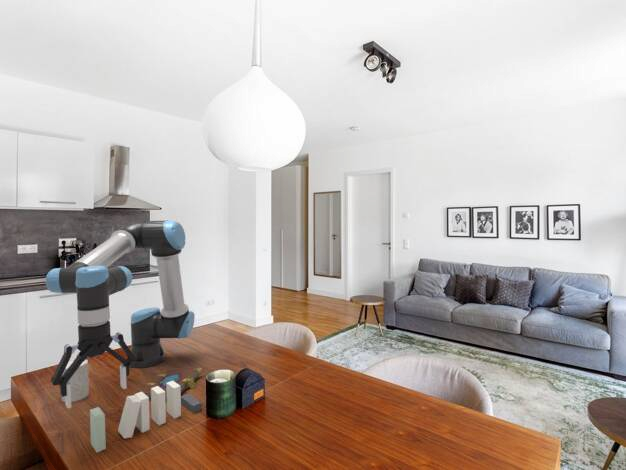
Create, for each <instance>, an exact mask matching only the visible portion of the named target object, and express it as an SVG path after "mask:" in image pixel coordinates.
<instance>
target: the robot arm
mask: <svg viewBox="0 0 626 470" xmlns="http://www.w3.org/2000/svg"><path fill="white" fill-rule="evenodd" d="M185 245H186V233H185V230H184V227H183V226H182V224H181V223H180V222H179V221H175V220H138V221H133V222H132V223H129V224H127V225H126V224H125V225H124V226H122V227H120V228H118V229H117V230H115V231H114V232H112V233H111V235H110V237H109V238H108V239H107V240H105V241H104V242H102V243H101V244H100V245H98V246H97V247H95V248H94V249H92V250H90V251H89V252H88V253H87V254H85V255H83V256H82V257H81V258H79V259H78V260H76V261H74V262H73V263H71V264H70V265H68V266H67V267H58V268H57V267H56V268H53V269H51V270H50V271H48V273H47V274H46V277H45V285H46V288H47V290H48V291H50V292H51V293H55V294H65V295H66V294H76V301H77V305H76V307H77V308H76V309H77V324H78V326H77V333H78V341H77V343H76V344H72V345H70V344H65V345H64V350H63V355H62V356H61V359H60V361H59V363H58V365H57V367H56V368H55V371H54V373H53V375H52V376H51V378H50V383H51V384H52V385H53V386H59V394H60V396H62V397H64V396H65V402H64V403H65V406H66V408H67V409H71V408H72V402H71V388H70V383H69V380H70V378H71V377H72V376H73V374H74V373H75V372H76V370H77V369H78V368H79V366H80V365H81V364H82V362H83V361H85V360H87V359H88V358H94V357H96V356H101V355H104V354H105V353H108V354H109V355H111V356H113V358H115V359H116V360H118V361H119V362H121V363H122V364H119V379H120V380H119V381H120V383H119V384H120V387H121V389H123V390H126V389H127V377H128V376H130V368H135V369H137V368H139V369H140V368H148V367H152V366H155V365H158V364H160V363H162V362H163V361H164V360H165V358H166V356H165V351H164V348H163V345H162V343H161V339H178V340H180V339H186V338H189V336H190V335H191V334H192V331H193V329H194V325H195V312H194V311H191V310H190V308H189V305H188V304H186V303H185V298H184V291H183V290H184V289H183V283H182V275H181V268H180V267H181V266H180V258H179V255H180V254H181V253H182V249H184V248H185ZM135 250H150V251H151V256H152V257H153V258H155V259H156V266H157V272H158V279H159V284H160V286H159V287H160V291H161V299H162V300H161V301H162V306H163V307H162V309H160V307H157V306H156V307H147V308H143V309H140V310H137V311H135V312H133V313H132V314H131V316H130V332H131V333H130V337H131V338H130V339H131V347H130V348H129V346H128V345H127V344H126V342H125V340H124V335H123V333H120V332H116V333H115V334H114V335H111V321H110V319H111V315H110V311H111V309H110V296H111V295H114V294H116V293H118V292H119V293H120V292H122V291H124V290H125V289H127V288H128V287H130V286H131V284H132V282H133V273H132V271H131V270H130V269H129V268H127V267H126V266H124V265H121V266H120V265H118V266H113V267H110V266H111V265H112V264H113V263H114V262H116V261H117V260H119V259H120V258H121V257H122V256H124V255H125V254H129V253H131V252H132V251H135ZM113 341H114V342H115V343H117V344H118V345H119V347H120V348H121V350H122V351H123V353H124V354H125V355H126V357H127V358H125V357H124V356H122V355H120V354H119V353H118V352H117V351H116V350H114V349H113V348H112V347H110V345H111V344H112V342H113ZM76 350H78V351H79V352H78V353H77V354H76V357H75V358H74V359H73V360H74V361H73V363H72V364H71V365H70V366H69V368H68V369H67V370H66V372H65V373H64V374H63V372H64V370H65V368H66V366H67V364H68V362H69V361H71V358H72V355H73V354H74V353H75V351H76ZM62 374H63V376H62Z"/></svg>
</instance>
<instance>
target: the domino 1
mask: <svg viewBox="0 0 626 470" xmlns="http://www.w3.org/2000/svg"><path fill="white" fill-rule="evenodd" d="M89 422H90V423H89V428H90V432H89V433H90V445H91V447H92V448H93V450H94V451H95V452H96V453H100V452H101V451H104V450H106V449H107V448H106V447H107V444H106V415H105V413H104V411H103V410H102V409H101V408H100V407H99V406H97V407H94V408H91V409H89Z"/></svg>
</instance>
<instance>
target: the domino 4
mask: <svg viewBox="0 0 626 470" xmlns="http://www.w3.org/2000/svg"><path fill="white" fill-rule="evenodd" d="M150 405H151V406H150V407H151V408H150V409H151V411H150V412H151V415H150V416H151V420H153V422H154V423H155V424H157V425H158V426H161V425H163V424H166V422H167V420H166V419H167V415H166V414H167V405H166V400H165V391H164V390H163V389H161V388H160V387H159V386H156V387H153V388H151V400H150Z"/></svg>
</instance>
